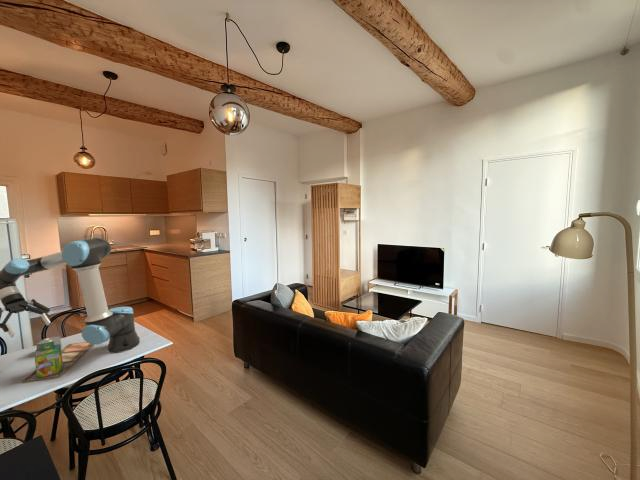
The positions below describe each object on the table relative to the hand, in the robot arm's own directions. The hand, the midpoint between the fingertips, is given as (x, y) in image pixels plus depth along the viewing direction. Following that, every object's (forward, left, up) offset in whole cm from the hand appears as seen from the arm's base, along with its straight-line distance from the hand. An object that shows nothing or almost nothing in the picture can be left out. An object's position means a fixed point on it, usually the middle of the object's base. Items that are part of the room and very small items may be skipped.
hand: (31, 329), depth 137 cm
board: (-7, -8, -20) cm, 23 cm away
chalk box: (-11, +3, -20) cm, 23 cm away
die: (+9, -13, -20) cm, 26 cm away
